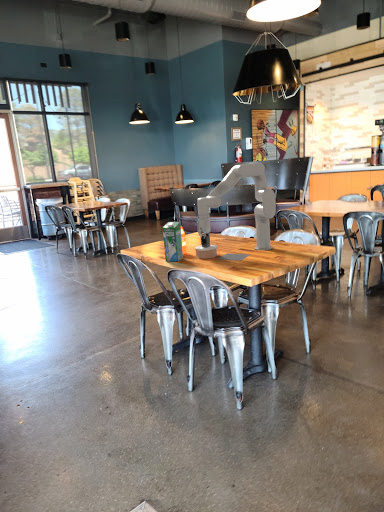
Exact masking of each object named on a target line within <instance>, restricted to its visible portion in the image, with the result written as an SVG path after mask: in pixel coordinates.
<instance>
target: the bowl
mask: <svg viewBox="0 0 384 512" xmlns="http://www.w3.org/2000/svg"><path fill="white" fill-rule="evenodd" d="M217 250H218V249H214V250H208V251H199V250H195V257H197V258H196V259H204V260H205V259H206V260H207V259H213V258H215V257H217V255H218V253H217Z"/></svg>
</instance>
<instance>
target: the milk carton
mask: <svg viewBox="0 0 384 512" xmlns="http://www.w3.org/2000/svg"><path fill="white" fill-rule="evenodd" d="M181 226H182V224H181V221H168V222H167V223H166V224H165V225H164V226H162V235H163V245H164V247H163V248H164V258H165V262H176V261H178V262H180V261H181V260H183V259H184V254H183V249H182V236H181Z"/></svg>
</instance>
